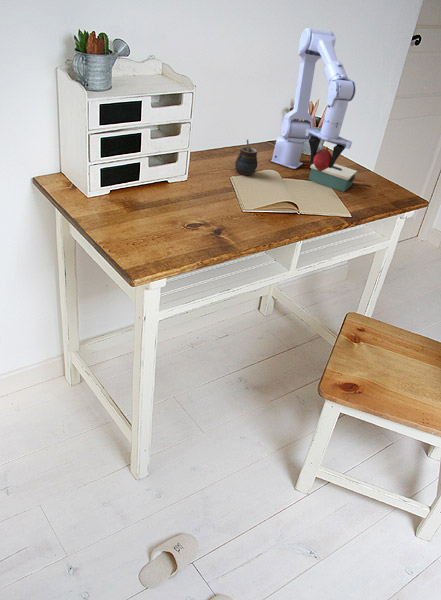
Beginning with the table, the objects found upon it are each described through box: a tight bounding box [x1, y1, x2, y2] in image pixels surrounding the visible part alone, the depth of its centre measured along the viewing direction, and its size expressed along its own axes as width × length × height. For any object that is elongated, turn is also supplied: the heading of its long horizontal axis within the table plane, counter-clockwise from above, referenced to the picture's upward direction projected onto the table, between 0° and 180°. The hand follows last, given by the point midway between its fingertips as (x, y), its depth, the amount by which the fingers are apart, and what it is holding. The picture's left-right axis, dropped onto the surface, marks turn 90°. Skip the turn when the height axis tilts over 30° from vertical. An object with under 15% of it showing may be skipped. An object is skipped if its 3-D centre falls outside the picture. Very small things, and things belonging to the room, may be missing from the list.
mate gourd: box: [234, 139, 258, 176], centre depth 182 cm, size 7×8×10 cm
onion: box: [312, 146, 332, 171], centre depth 175 cm, size 6×6×8 cm
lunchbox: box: [307, 162, 358, 193], centre depth 189 cm, size 14×10×6 cm, turn 61°
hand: (321, 164), depth 176 cm, fingers closed on onion, 6 cm apart
